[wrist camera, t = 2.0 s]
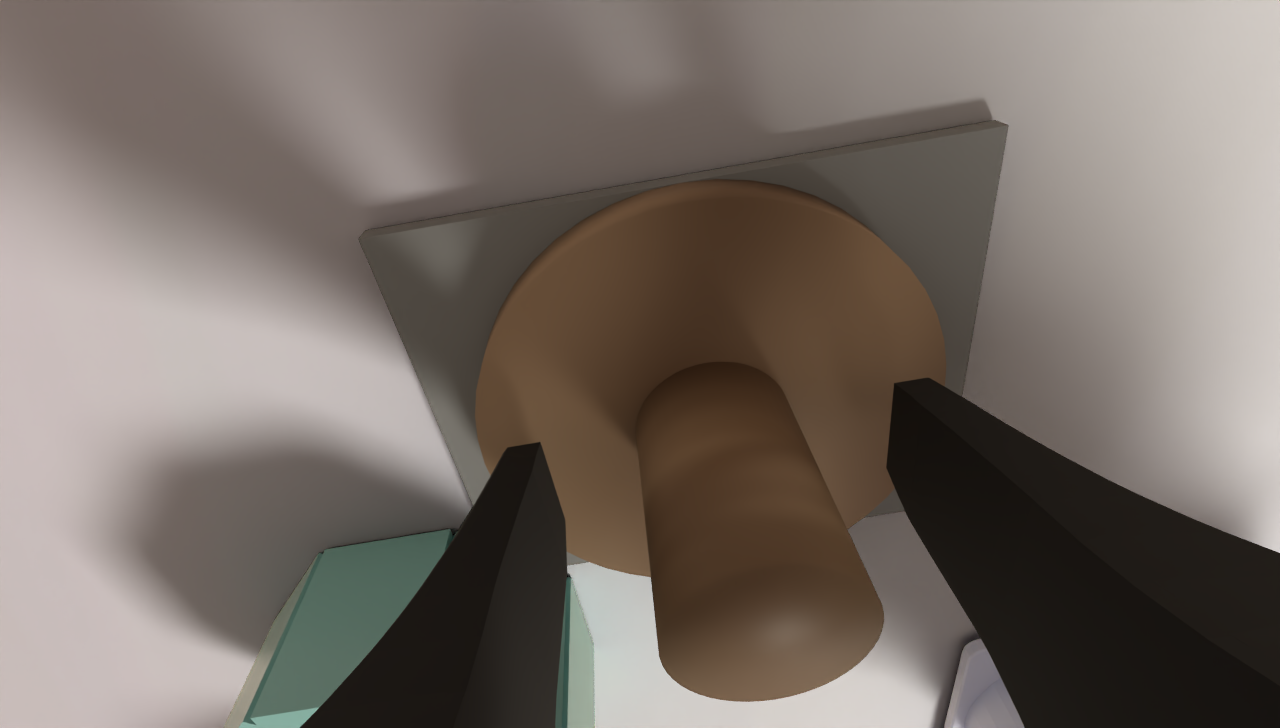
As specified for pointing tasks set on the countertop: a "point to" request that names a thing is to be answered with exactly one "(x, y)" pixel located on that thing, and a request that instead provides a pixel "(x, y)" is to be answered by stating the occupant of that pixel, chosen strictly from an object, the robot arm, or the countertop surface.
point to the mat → (517, 234)
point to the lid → (718, 416)
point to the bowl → (374, 633)
